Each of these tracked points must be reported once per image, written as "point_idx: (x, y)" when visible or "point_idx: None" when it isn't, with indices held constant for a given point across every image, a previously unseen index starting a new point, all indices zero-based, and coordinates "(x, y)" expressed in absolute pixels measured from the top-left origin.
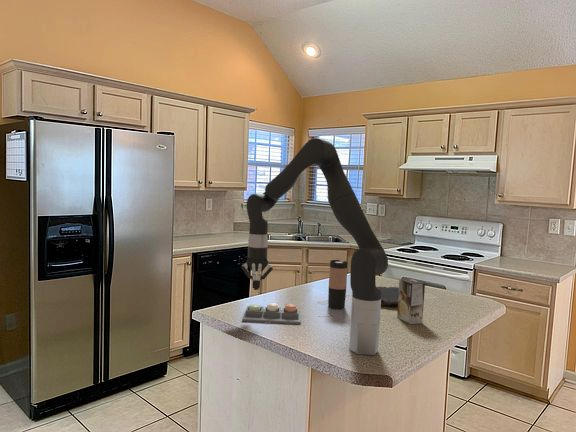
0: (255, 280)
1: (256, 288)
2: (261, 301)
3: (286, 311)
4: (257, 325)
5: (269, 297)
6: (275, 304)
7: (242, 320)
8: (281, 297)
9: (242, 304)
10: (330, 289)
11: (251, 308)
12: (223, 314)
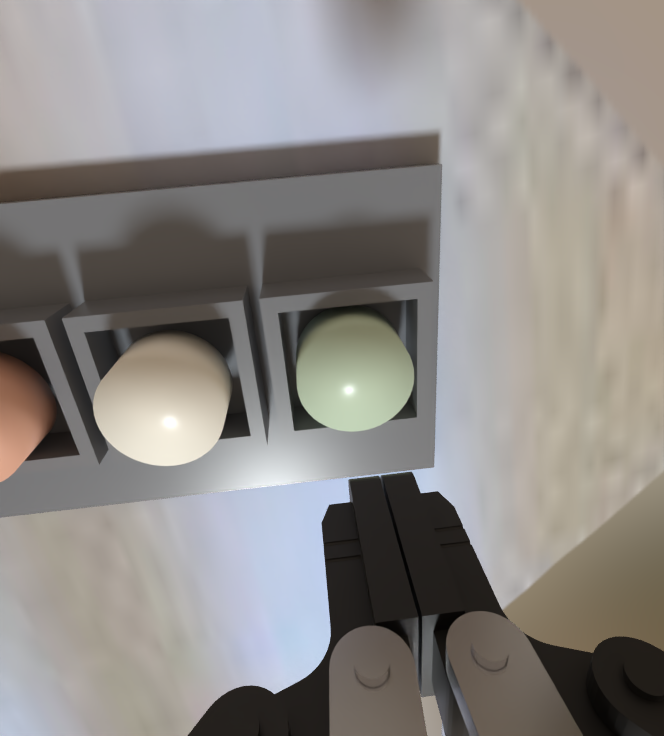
0: (442, 634)
1: (375, 489)
2: None
3: (13, 367)
4: (265, 70)
5: None
6: (133, 429)
7: (433, 164)
8: None
9: None
10: None
11: (381, 325)
12: (602, 324)
